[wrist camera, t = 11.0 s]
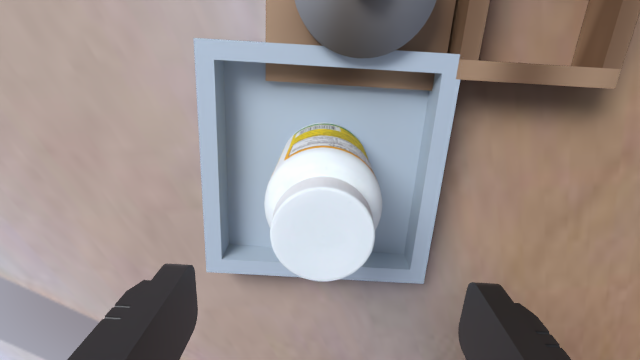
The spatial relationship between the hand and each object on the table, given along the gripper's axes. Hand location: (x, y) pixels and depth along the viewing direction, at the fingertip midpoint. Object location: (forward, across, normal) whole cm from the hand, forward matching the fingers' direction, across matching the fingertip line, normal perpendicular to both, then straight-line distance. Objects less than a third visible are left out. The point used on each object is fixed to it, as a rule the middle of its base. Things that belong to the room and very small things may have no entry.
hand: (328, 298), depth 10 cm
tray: (+13, 0, 0) cm, 13 cm away
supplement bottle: (+13, 0, 0) cm, 13 cm away
